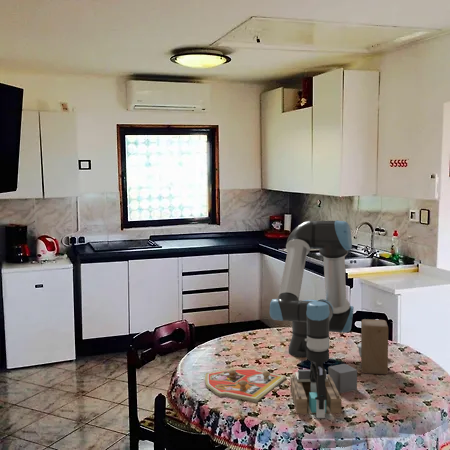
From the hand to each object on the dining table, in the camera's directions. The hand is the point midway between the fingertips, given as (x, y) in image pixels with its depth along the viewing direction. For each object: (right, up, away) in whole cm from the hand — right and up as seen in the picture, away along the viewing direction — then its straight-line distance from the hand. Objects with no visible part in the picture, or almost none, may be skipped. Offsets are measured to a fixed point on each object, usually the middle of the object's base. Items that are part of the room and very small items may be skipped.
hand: (317, 408), depth 188 cm
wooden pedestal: (0, 0, +6) cm, 6 cm away
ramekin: (+32, +5, +52) cm, 61 cm away
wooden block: (+29, +3, +37) cm, 47 cm away
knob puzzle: (-26, +1, +26) cm, 37 cm away
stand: (+12, +1, +18) cm, 22 cm away
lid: (0, +6, +15) cm, 16 cm away
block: (0, 0, 0) cm, 0 cm away
